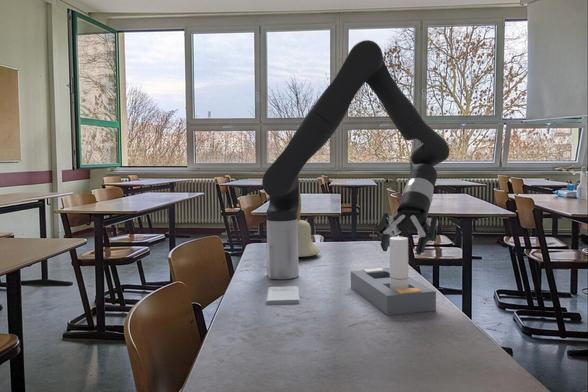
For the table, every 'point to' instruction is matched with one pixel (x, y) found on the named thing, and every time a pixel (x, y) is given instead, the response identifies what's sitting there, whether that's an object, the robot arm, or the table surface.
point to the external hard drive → (283, 295)
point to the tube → (398, 263)
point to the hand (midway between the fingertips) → (400, 251)
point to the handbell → (305, 236)
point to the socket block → (392, 292)
